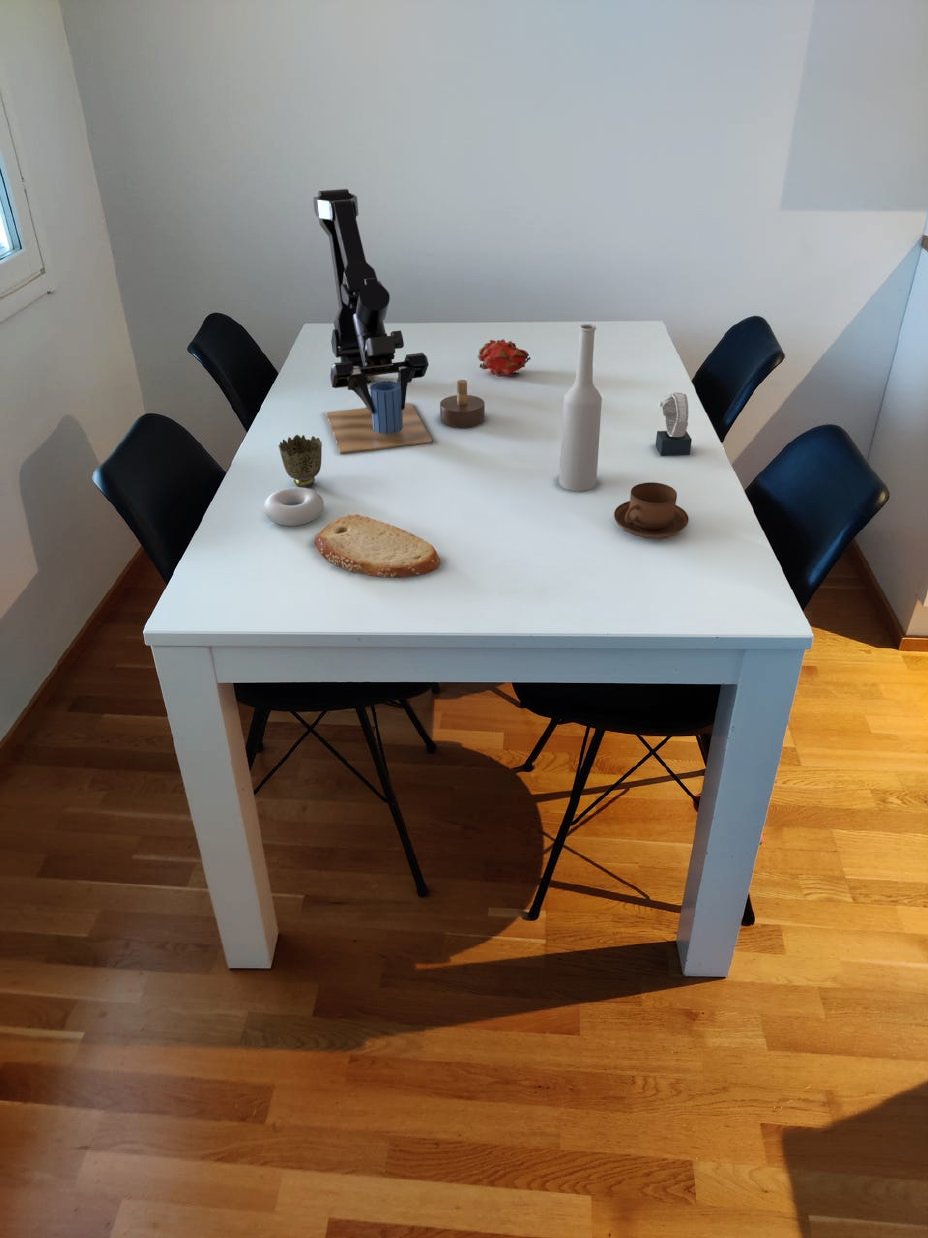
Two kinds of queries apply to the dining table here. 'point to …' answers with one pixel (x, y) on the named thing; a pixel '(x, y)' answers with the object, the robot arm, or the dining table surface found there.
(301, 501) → the donut
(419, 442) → the wooden board
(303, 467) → the cup
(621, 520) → the cup and saucer
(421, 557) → the bread slice
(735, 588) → the dining table surface
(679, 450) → the watch
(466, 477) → the dining table surface
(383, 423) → the sleeve
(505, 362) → the dragon fruit
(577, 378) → the bottle
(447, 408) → the stand
